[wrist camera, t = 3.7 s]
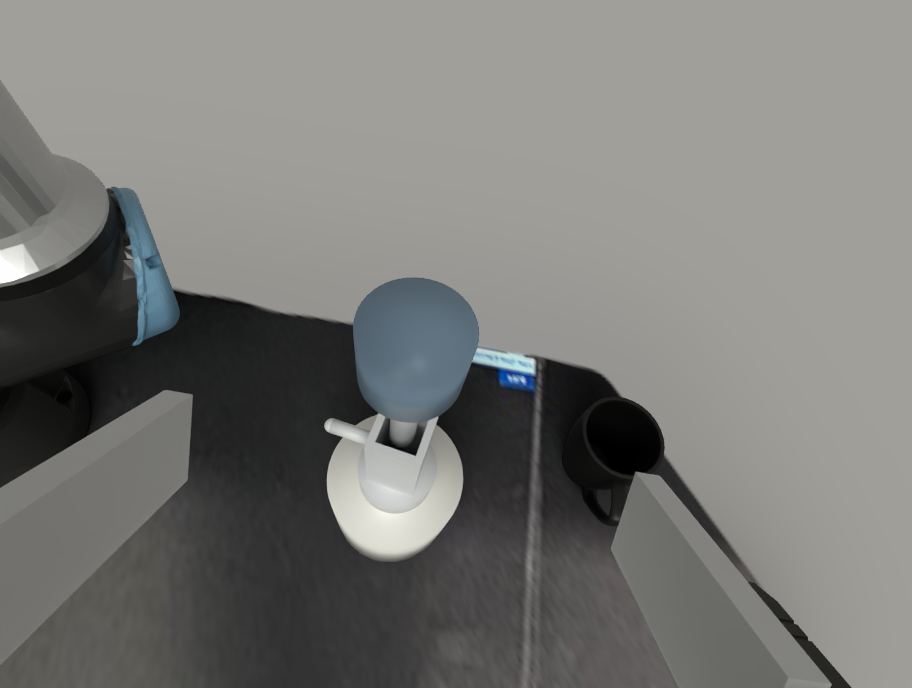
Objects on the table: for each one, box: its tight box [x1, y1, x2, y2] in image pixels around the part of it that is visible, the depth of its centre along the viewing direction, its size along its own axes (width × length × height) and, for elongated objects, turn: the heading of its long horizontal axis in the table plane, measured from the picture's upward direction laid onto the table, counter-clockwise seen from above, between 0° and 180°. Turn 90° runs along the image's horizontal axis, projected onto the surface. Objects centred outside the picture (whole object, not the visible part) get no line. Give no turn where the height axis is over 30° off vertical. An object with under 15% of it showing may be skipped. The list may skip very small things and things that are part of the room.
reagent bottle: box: [324, 413, 463, 562], centre depth 39 cm, size 11×11×22 cm
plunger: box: [353, 278, 479, 447], centre depth 24 cm, size 5×5×13 cm
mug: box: [562, 397, 665, 526], centre depth 48 cm, size 8×12×10 cm
